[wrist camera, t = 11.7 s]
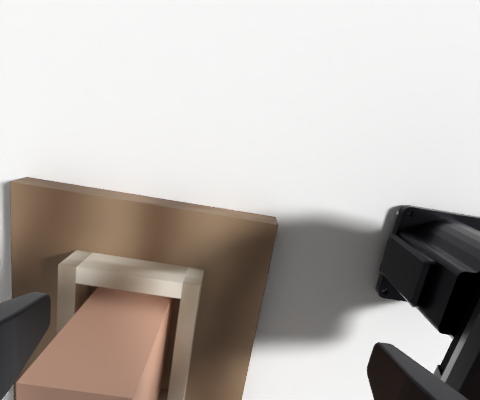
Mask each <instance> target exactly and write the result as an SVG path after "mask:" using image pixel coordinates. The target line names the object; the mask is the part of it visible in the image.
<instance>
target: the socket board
mask: <svg viewBox="0 0 480 400" xmlns="http://www.w3.org/2000/svg"><path fill="white" fill-rule="evenodd" d="M10 206H11V263H12V299H14V298H17V297H20V296H23V295H25V294H28V293H31V292H39V293H46V294H49V295H50V297H51V321H50V325H49V328H48V330H47V332H46V333H45V335H44V336H43V338H42V340H41V341H40V343H39V344H38V346H37V348H36V349H35V351H34V352H33V354H32V356H31V357H30V359H29V360H28V362H27V363H26V365H25V367H24V368H23V370H22V371H21V373H20V375H19V376H18V378H17V379H16V381H15V382H14V400H16V382H17V381H18V380H19V379H20V378H21V376H22V375H23V374H24V373H25V372H26V371H27V369H28V368H29V367H30V366H31V365H32V364H33V362H34V361H35V360H36V359H37V358H38V357H39V355H40V354H41V353H42V352H43V351H44V350H45V348H46V347H47V346H48V345H49V344H50V343H51V341H52V340H53V339H54V338H55V337H56V336H57V334H58V333H59V332H60V331H61V330H62V329H63V327H64V326H65V325H66V324H67V323H68V322H69V320H70V319H71V318H72V317H73V316H74V315H75V313H76V312H77V311H78V310H79V309H80V308H81V306H82V305H83V304H84V303H85V302H86V301H87V299H88V298H89V297H90V296H91V295H92V294H93V292H94V291H95V290H96V289H97V288H98V287H105V288H111V289H118V290H125V291H132V292H138V293H145V294H152V295H159V296H165V297H172V298H174V299H173V307H172V315H171V323H170V331H169V339H168V347H167V355H166V363H165V372H164V379H163V383H162V386H161V389H160V393H159V396H158V399H157V400H242V395H243V390H244V385H245V381H246V376H247V371H248V366H249V361H250V357H251V352H252V347H253V342H254V337H255V333H256V328H257V323H258V318H259V313H260V309H261V304H262V299H263V294H264V289H265V285H266V280H267V275H268V270H269V265H270V261H271V256H272V251H273V246H274V241H275V237H276V232H277V227H278V223H277V220H276V218H275V217H271V216H265V215H259V214H253V213H247V212H240V211H234V210H228V209H222V208H215V207H209V206H203V205H197V204H191V203H184V202H178V201H172V200H166V199H160V198H153V197H147V196H141V195H135V194H128V193H122V192H116V191H110V190H104V189H97V188H91V187H85V186H79V185H73V184H66V183H60V182H54V181H48V180H42V179H35V178H29V177H26V178H22V179H18V180H15V181H11V182H10Z"/></svg>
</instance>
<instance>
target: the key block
mask: <svg viewBox="0 0 480 400" xmlns="http://www.w3.org/2000/svg"><path fill="white" fill-rule="evenodd" d="M173 299H174V298H172V297H165V296H159V295H152V294H145V293H138V292H132V291H125V290H118V289H111V288H105V287H98V288H97V289H96V290H95V291H94V292H93V294H92V295H91V296H90V297H89V298H88V299H87V301H86V302H85V303H84V304H83V305H82V306H81V308H80V309H79V310H78V311H77V312H76V313H75V315H74V316H73V317H72V318H71V319H70V320H69V322H68V323H67V324H66V325H65V326H64V327H63V329H62V330H61V331H60V332H59V333H58V334H57V336H56V337H55V338H54V339H53V340H52V341H51V343H50V344H49V345H48V346H47V347H46V348H45V350H44V351H43V352H42V353H41V354H40V355H39V357H38V358H37V359H36V360H35V361H34V362H33V364H32V365H31V366H30V367H29V368H28V369H27V371H26V372H25V373H24V374H23V375H22V376H21V378H20V379H19V380H18V381H17V382H16V400H157V399H158V396H159V393H160V389H161V386H162V383H163V379H164V372H165V363H166V355H167V347H168V339H169V331H170V323H171V315H172V307H173Z"/></svg>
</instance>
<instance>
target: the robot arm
mask: <svg viewBox="0 0 480 400" xmlns="http://www.w3.org/2000/svg"><path fill="white" fill-rule="evenodd" d="M408 211H411V214H410V215H409V216H406V213H407V212H408ZM384 288H387V289H386V291H384V292H382V290H383V289H384ZM376 292H377V293H378V295H379V296H380V297H382V298H387V299H393V300H400V301H406V302H408V303H409V304H410V305H411V306H412V307H416V308H417V309H418V310H419V311H420V312H421V313H422V314H423V315H424V317H425V318H426V319H427V320H428V321H429V322H430V323H431V324H432V325H433V326H434V327H435V328H436V329H437V330H438V331H439V332H440V333H442V334H448V335H449V336H450V337H451V338H452V339H453V340H452V342H451V344H450V346H449V349H448V351H447V353H446V355H445V357H444V359H443V361H442V363H441V365H438V366H437V368H436V370H435V372H434V374H432V373H431V372H429V371H428V370H427V369H425V368H424V367H422V366H421V365H420V364H418V363H417V362H416V361H414V360H413V359H411V358H410V357H409V356H407V355H406V354H404V353H403V352H402V351H400V350H399V349H398V348H396V347H395V346H393V345H391V344H387V343H380V342H378V343H376V344H375V345H374V347H373V350H372V354H371V357H370V360H369V363H368V366H367V375H368V379H369V383H370V386H371V390H372V394H373V397H374V400H480V217H477V216H471V215H464V214H458V213H452V212H446V211H440V210H434V209H428V208H422V207H416V206H410V205H406V206H403V207H402V208H401V209H400V211H399V214H398V217H397V220H396V224H395V227H394V230H393V233H392V235H391V236H390V237H389V240H388V243H387V246H386V250H385V253H384V256H383V260H382V263H381V266H380V276H379V279H378V282H377V285H376ZM50 321H51V297H50V295H49V294H46V293H39V292H31V293H28V294H25V295H23V296H20V297H17V298H14V299H11V300H8V301H5V302H2V303H0V400H2V398H3V397H4V396H5V395H6V393H7V392H8V390H9V389H10V388H11V386H12V385H13V384H14V382H15V381H16V379H17V378H18V376H19V375H20V373H21V371H22V370H23V368H24V367H25V365H26V363H27V362H28V360H29V359H30V357H31V356H32V354H33V352H34V351H35V349H36V348H37V346H38V344H39V343H40V341H41V340H42V338H43V336H44V335H45V333H46V332H47V330H48V328H49V325H50Z"/></svg>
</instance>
